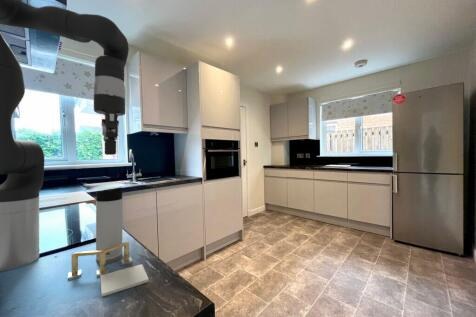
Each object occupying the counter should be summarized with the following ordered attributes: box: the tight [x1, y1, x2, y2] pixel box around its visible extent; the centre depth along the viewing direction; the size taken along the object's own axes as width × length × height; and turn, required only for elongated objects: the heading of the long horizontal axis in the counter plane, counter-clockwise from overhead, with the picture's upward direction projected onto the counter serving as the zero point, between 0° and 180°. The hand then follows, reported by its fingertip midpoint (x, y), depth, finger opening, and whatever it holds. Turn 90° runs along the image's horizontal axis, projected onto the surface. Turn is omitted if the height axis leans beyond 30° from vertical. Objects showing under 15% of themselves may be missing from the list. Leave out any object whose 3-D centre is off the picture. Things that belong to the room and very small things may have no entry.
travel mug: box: [95, 187, 123, 265], centre depth 58 cm, size 6×7×20 cm
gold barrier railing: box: [67, 241, 133, 281], centre depth 51 cm, size 13×5×6 cm, turn 125°
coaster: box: [99, 263, 150, 298], centre depth 48 cm, size 9×8×1 cm
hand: (110, 154), depth 57 cm, fingers open, 8 cm apart
